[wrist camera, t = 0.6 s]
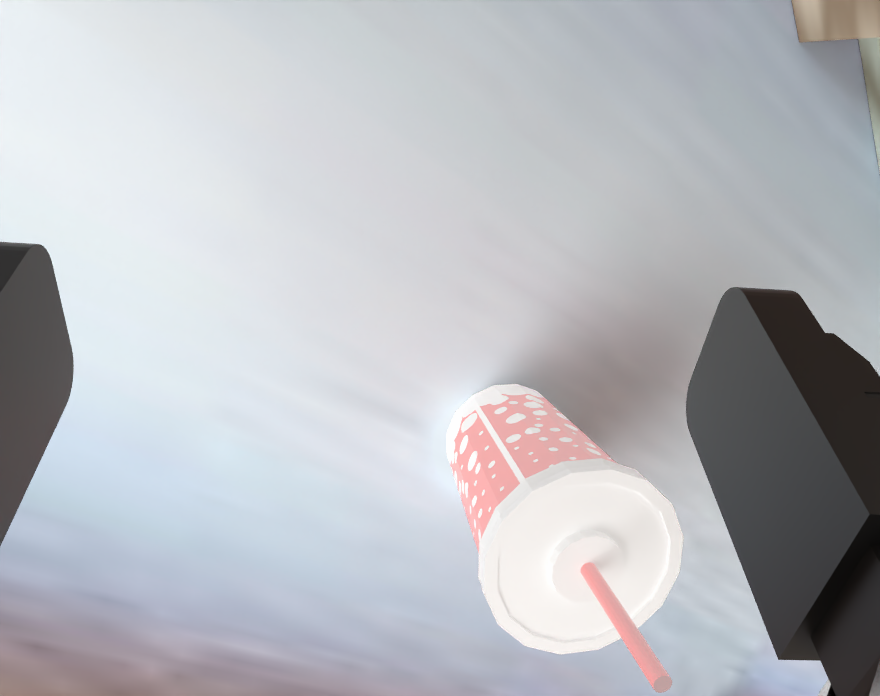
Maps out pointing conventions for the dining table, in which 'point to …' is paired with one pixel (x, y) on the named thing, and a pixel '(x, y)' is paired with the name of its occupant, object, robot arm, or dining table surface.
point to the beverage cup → (561, 528)
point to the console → (847, 17)
